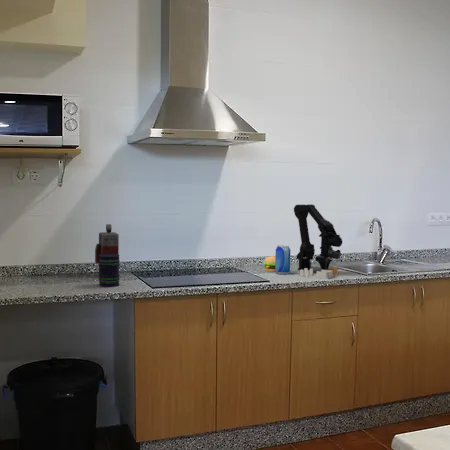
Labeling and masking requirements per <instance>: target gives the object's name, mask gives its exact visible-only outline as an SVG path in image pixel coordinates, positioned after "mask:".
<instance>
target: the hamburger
mask: <svg viewBox="0 0 450 450" xmlns="http://www.w3.org/2000/svg"><path fill="white" fill-rule="evenodd" d="M262 265H264V269H263V270H265V271H266V272H271V273H272V272H273V273H276V272H275V255H270V256H268V257H266V258H265V259H264V261H263V262H262Z"/></svg>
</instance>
